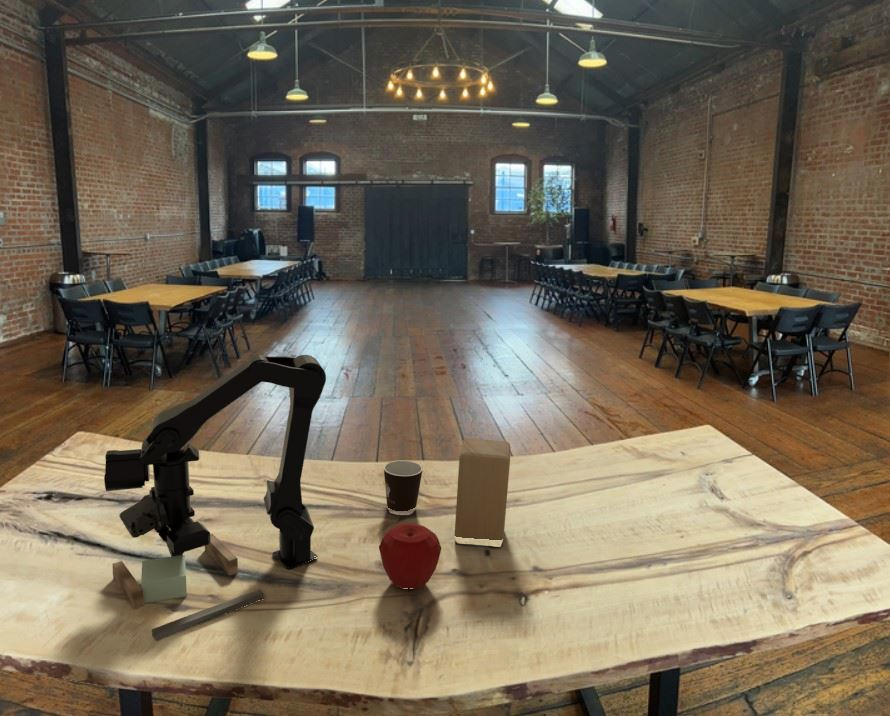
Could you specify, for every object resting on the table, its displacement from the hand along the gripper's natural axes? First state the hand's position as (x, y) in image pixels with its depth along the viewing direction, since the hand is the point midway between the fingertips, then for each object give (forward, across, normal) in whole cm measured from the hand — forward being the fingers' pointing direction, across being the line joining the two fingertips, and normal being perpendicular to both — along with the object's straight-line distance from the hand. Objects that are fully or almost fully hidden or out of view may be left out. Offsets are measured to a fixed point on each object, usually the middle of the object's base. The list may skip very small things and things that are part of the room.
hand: (176, 561), depth 123 cm
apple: (+2, +28, +32) cm, 42 cm away
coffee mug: (+3, +2, +50) cm, 50 cm away
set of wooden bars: (+2, +6, 0) cm, 7 cm away
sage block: (+2, +4, -4) cm, 6 cm away
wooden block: (+3, +22, +55) cm, 59 cm away
